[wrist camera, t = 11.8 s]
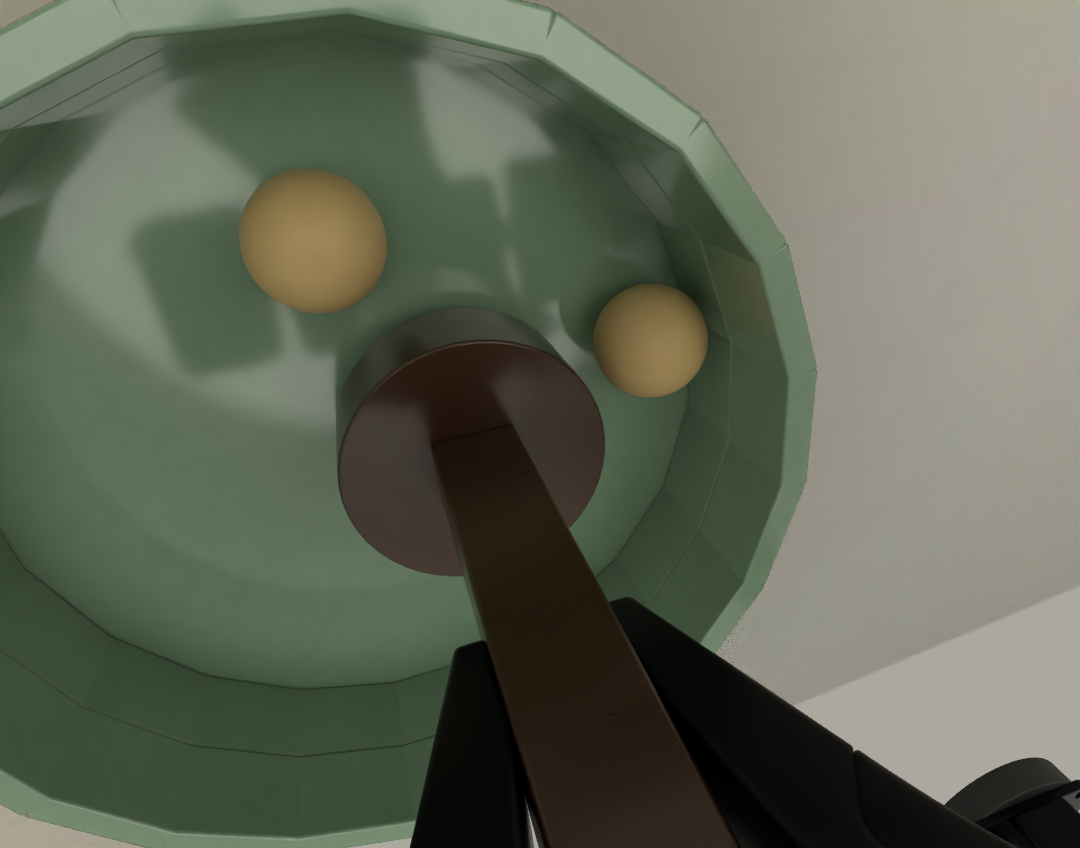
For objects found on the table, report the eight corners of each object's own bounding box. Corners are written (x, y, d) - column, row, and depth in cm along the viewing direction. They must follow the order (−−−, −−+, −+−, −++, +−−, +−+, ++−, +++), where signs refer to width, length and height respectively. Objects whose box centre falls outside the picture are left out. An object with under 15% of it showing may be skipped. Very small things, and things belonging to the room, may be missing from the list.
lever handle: (583, 490, 16) (936, 1054, 7) (369, 547, 15) (440, 1296, 6) (562, 283, 14) (1077, 731, 4) (304, 336, 13) (248, 1060, 3)
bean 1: (388, 244, 10) (356, 122, 11) (226, 279, 10) (205, 150, 11) (409, 321, 12) (382, 215, 13) (277, 350, 12) (257, 240, 13)
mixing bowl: (698, 590, 21) (784, 707, 17) (136, 762, 17) (83, 955, 14) (701, -46, 13) (865, -99, 9) (-323, 64, 10) (-753, 57, 6)
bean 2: (650, 426, 15) (717, 348, 15) (665, 412, 13) (744, 319, 13) (569, 358, 15) (637, 282, 16) (570, 332, 13) (649, 242, 13)
